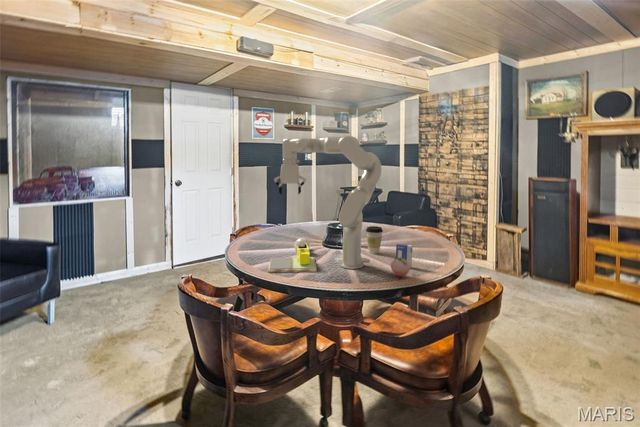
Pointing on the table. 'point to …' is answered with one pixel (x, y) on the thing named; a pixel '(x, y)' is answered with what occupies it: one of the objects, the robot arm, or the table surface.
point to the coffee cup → (374, 239)
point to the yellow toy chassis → (303, 254)
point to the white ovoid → (301, 243)
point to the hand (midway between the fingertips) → (290, 194)
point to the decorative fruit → (400, 267)
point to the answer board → (290, 265)
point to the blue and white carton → (404, 252)
